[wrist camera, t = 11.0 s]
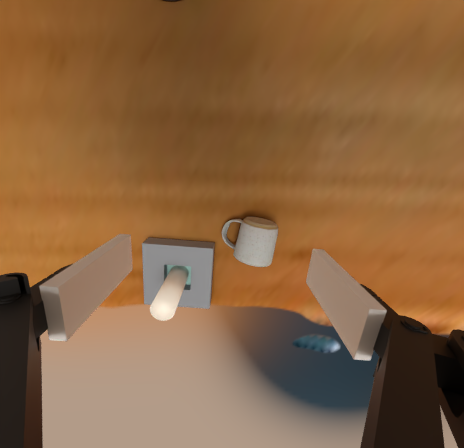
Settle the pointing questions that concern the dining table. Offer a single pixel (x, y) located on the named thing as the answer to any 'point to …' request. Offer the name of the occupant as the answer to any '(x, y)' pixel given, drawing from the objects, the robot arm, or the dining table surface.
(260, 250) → the ceramic mug
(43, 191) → the dining table surface
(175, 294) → the dowel pin
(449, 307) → the dining table surface
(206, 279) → the bore block
